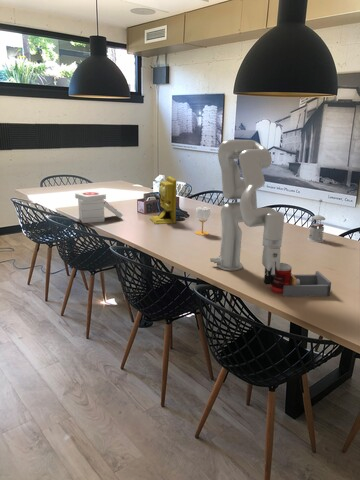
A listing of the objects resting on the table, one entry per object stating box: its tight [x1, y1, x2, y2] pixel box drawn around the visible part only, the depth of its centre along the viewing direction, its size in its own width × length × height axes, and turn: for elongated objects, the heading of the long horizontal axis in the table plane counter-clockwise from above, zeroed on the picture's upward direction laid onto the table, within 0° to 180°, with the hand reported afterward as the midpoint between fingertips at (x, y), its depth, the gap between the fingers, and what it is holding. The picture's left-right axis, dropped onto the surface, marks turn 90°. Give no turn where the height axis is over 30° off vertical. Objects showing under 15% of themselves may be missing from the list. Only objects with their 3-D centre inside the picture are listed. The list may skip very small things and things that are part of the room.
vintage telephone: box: [149, 175, 177, 225], centre depth 270 cm, size 31×14×30 cm, turn 17°
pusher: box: [290, 272, 300, 285], centre depth 165 cm, size 4×9×7 cm, turn 5°
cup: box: [194, 206, 211, 236], centre depth 244 cm, size 9×9×16 cm
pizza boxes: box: [74, 190, 124, 224], centre depth 272 cm, size 19×30×18 cm, turn 112°
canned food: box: [270, 262, 293, 295], centre depth 164 cm, size 8×8×11 cm
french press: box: [306, 199, 326, 243], centre depth 235 cm, size 10×12×25 cm
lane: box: [282, 270, 332, 298], centre depth 166 cm, size 20×12×6 cm, turn 95°
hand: (268, 283), depth 164 cm, fingers closed
